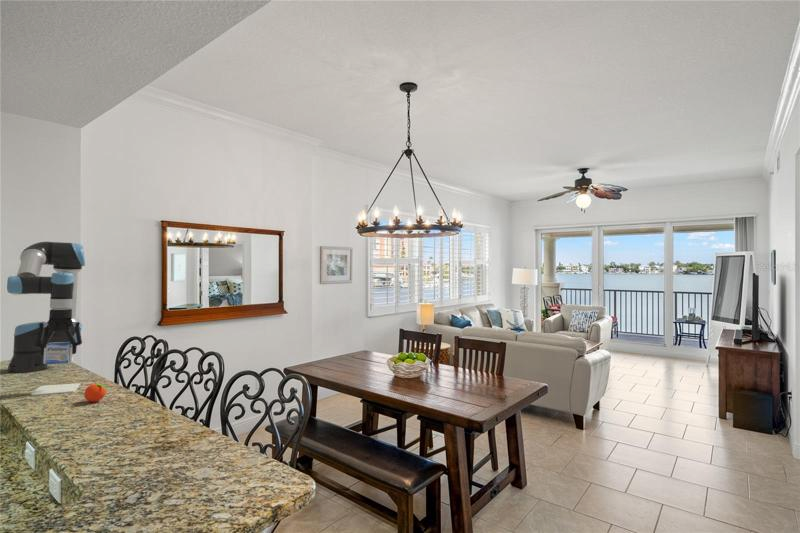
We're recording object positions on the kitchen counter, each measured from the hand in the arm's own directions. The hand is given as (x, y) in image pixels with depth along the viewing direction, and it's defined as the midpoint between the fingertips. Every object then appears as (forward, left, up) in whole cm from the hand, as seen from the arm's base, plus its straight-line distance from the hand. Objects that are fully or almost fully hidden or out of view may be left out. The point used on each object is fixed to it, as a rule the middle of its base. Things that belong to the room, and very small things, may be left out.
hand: (58, 362), depth 181 cm
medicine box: (0, 0, 0) cm, 0 cm away
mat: (0, 0, -12) cm, 12 cm away
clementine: (+25, +17, -12) cm, 32 cm away
